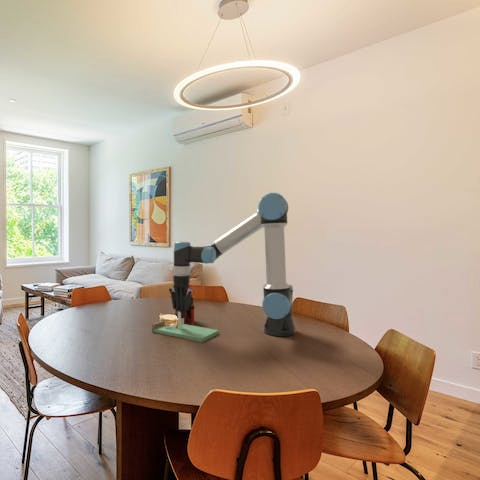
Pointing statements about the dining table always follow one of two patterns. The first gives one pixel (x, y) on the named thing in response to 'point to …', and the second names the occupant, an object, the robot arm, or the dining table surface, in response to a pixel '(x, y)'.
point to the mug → (189, 313)
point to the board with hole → (185, 331)
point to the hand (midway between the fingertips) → (180, 324)
